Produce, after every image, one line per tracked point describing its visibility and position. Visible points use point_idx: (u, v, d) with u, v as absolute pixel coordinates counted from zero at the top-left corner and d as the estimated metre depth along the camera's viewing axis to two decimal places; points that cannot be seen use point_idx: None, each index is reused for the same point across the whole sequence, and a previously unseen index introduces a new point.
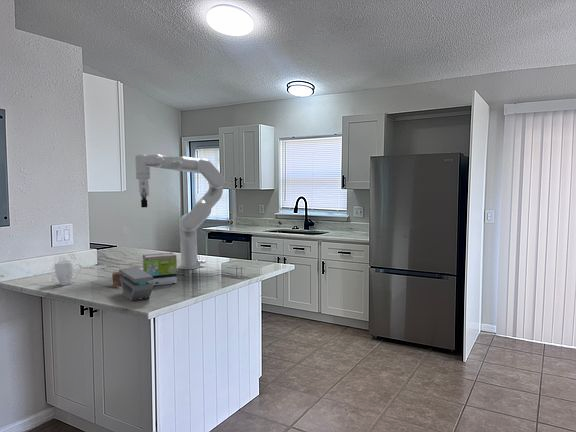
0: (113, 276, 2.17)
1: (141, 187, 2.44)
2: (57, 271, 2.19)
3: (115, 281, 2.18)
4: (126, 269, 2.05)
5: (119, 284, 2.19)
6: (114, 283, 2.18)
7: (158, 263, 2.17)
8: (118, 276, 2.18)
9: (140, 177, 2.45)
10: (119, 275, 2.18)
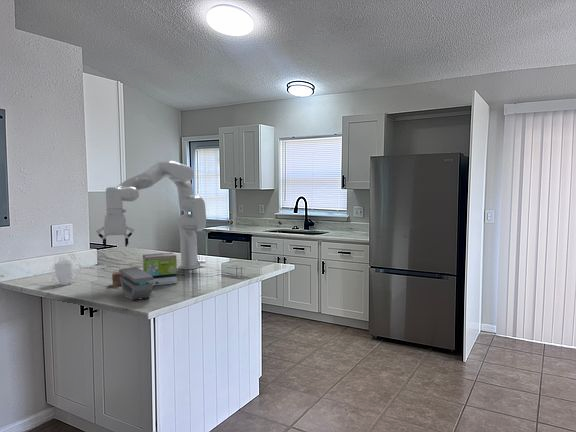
0: (113, 276, 2.17)
1: (125, 224, 2.18)
2: (57, 271, 2.19)
3: (115, 281, 2.18)
4: (126, 269, 2.05)
5: (119, 284, 2.19)
6: (114, 283, 2.18)
7: (158, 263, 2.17)
8: (118, 276, 2.18)
9: (122, 213, 2.17)
10: (119, 275, 2.18)
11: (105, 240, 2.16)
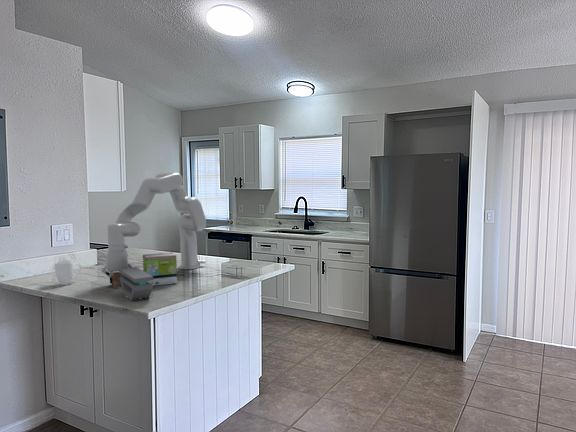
0: (113, 276, 2.17)
1: (127, 259, 2.20)
2: (57, 271, 2.19)
3: (115, 281, 2.18)
4: (126, 269, 2.05)
5: (119, 284, 2.19)
6: (114, 283, 2.18)
7: (158, 263, 2.17)
8: (118, 276, 2.18)
9: (124, 249, 2.19)
10: (119, 275, 2.18)
11: None
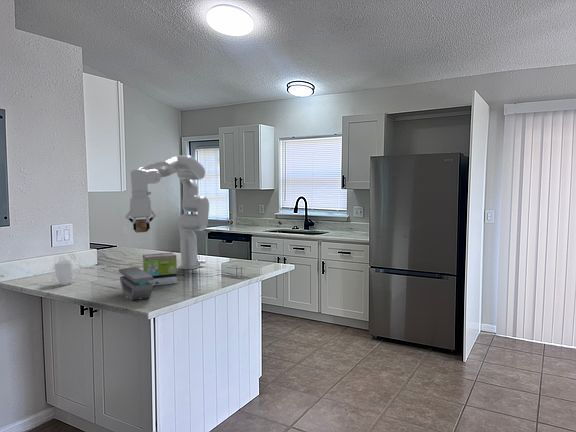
0: (136, 222, 2.17)
1: (150, 206, 2.19)
2: (57, 271, 2.19)
3: (138, 227, 2.17)
4: (126, 269, 2.05)
5: (142, 230, 2.18)
6: (137, 229, 2.17)
7: (158, 263, 2.17)
8: (141, 222, 2.17)
9: (147, 195, 2.18)
10: (142, 221, 2.17)
11: (135, 224, 2.18)
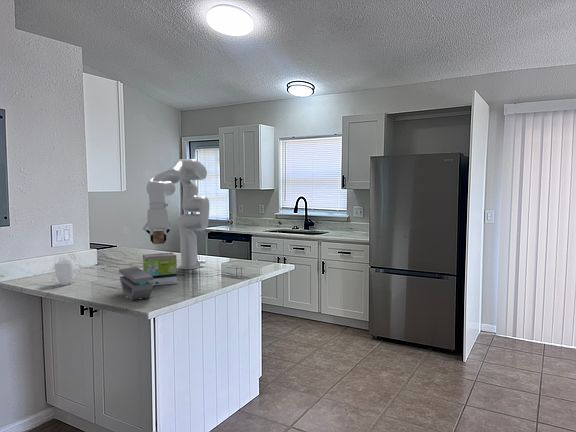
0: (154, 234, 2.18)
1: (167, 218, 2.21)
2: (57, 271, 2.19)
3: (156, 239, 2.18)
4: (126, 269, 2.05)
5: (160, 242, 2.19)
6: (155, 241, 2.18)
7: (158, 263, 2.17)
8: (159, 234, 2.19)
9: (164, 207, 2.20)
10: (160, 233, 2.19)
11: None
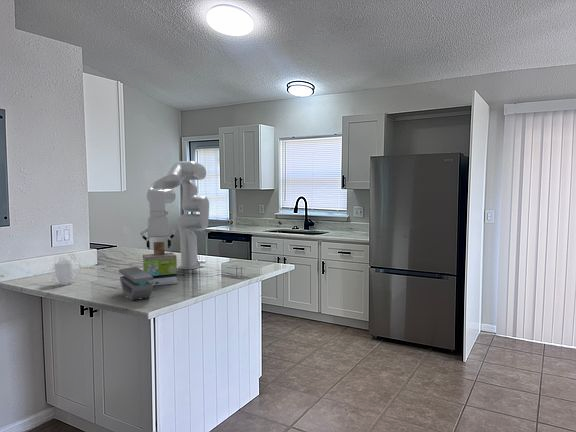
0: (154, 245, 2.19)
1: (168, 226, 2.21)
2: (57, 271, 2.19)
3: (157, 250, 2.19)
4: (126, 269, 2.05)
5: (160, 253, 2.20)
6: (155, 252, 2.19)
7: (158, 263, 2.17)
8: (159, 245, 2.19)
9: (164, 215, 2.20)
10: (160, 244, 2.19)
11: (149, 242, 2.19)
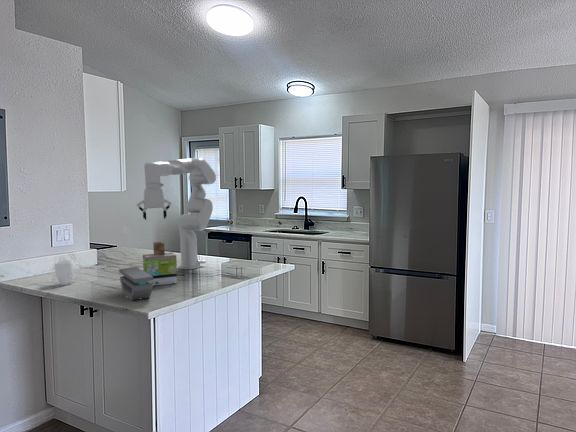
0: (155, 245, 2.19)
1: (163, 197, 2.31)
2: (57, 271, 2.19)
3: (157, 250, 2.19)
4: (126, 269, 2.05)
5: (160, 253, 2.20)
6: (155, 252, 2.19)
7: (158, 263, 2.17)
8: (159, 245, 2.19)
9: (160, 187, 2.30)
10: (160, 244, 2.19)
11: (145, 213, 2.28)
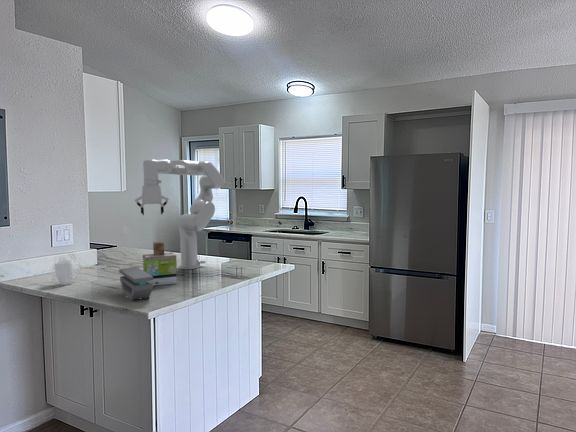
0: (154, 245, 2.19)
1: None
2: (57, 271, 2.19)
3: (156, 250, 2.19)
4: (126, 269, 2.05)
5: (160, 253, 2.20)
6: (155, 252, 2.19)
7: (158, 263, 2.17)
8: (159, 245, 2.19)
9: (158, 183, 2.37)
10: (160, 244, 2.19)
11: (143, 208, 2.35)
